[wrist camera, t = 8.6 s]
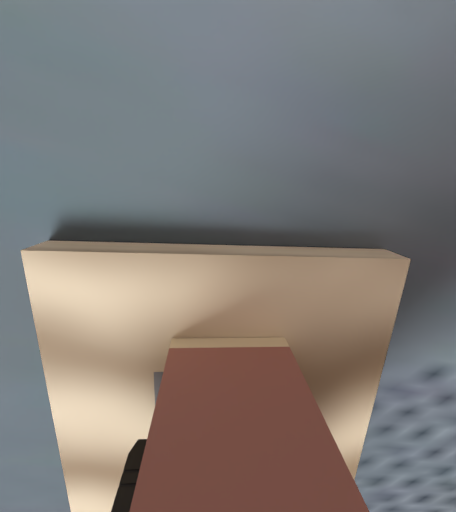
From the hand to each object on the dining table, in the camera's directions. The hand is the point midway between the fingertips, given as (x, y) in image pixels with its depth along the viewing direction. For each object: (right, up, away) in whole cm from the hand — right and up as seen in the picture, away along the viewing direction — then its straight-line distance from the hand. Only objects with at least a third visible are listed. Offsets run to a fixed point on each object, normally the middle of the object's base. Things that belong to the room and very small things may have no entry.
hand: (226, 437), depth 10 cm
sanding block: (0, 0, +1) cm, 1 cm away
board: (-1, -3, +3) cm, 4 cm away
